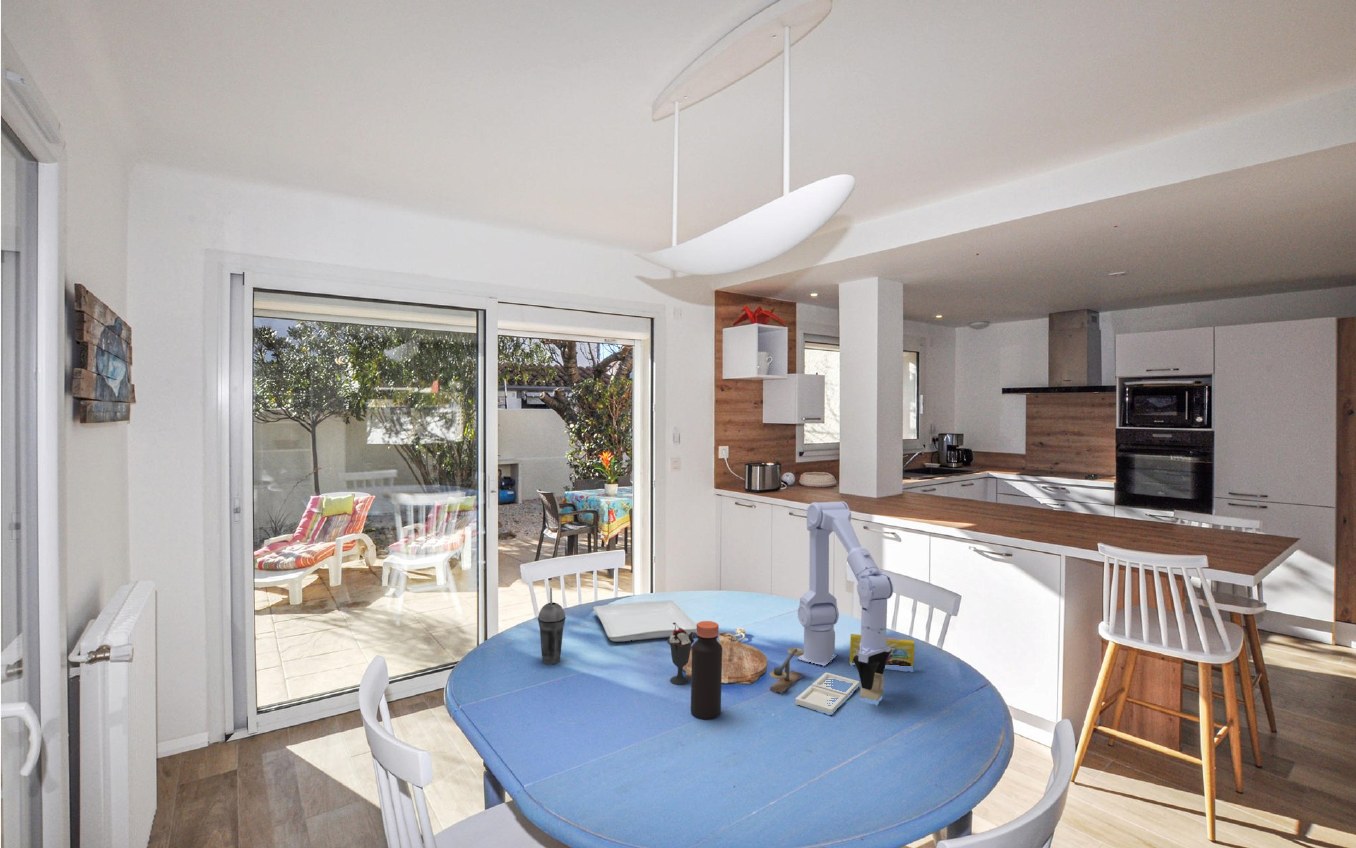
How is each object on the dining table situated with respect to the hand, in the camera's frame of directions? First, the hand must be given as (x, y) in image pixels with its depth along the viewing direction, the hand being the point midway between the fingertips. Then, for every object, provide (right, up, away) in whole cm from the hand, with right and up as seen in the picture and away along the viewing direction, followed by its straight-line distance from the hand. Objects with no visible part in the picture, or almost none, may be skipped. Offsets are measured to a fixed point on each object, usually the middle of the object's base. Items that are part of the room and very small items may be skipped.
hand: (872, 682), depth 153 cm
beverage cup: (-80, -2, +19) cm, 82 cm away
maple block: (0, -4, 0) cm, 4 cm away
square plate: (-57, -2, +47) cm, 73 cm away
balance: (-19, -4, +8) cm, 21 cm away
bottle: (-40, -4, -8) cm, 41 cm away
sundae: (-45, -3, +9) cm, 46 cm away
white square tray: (-7, -4, +6) cm, 10 cm away
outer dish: (-13, -4, -2) cm, 13 cm away
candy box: (+8, -4, +19) cm, 21 cm away
